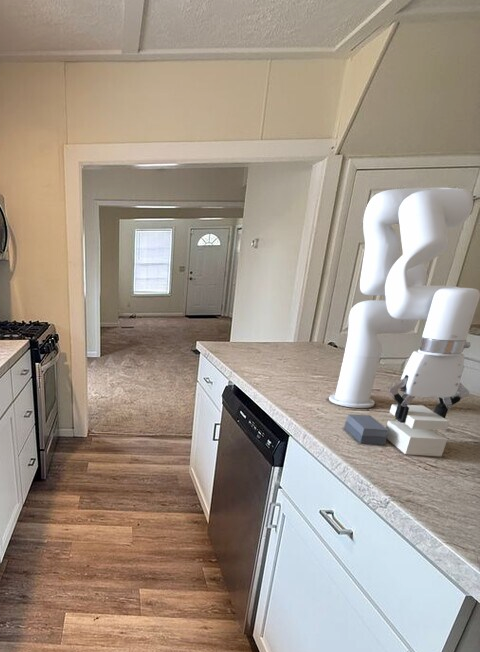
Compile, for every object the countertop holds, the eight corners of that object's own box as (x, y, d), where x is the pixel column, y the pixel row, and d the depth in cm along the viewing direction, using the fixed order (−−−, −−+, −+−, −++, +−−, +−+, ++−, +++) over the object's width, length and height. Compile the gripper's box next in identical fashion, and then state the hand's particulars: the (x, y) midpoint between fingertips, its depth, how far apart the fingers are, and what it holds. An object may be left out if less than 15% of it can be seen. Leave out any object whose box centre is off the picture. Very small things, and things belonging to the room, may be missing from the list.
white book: (389, 412, 102) (391, 404, 101) (420, 413, 100) (423, 405, 100) (411, 428, 92) (414, 419, 91) (446, 430, 90) (449, 421, 90)
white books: (383, 436, 104) (387, 420, 102) (416, 438, 102) (421, 422, 101) (405, 454, 94) (410, 437, 92) (441, 456, 92) (447, 439, 91)
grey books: (344, 427, 110) (347, 413, 108) (366, 428, 109) (369, 415, 107) (360, 443, 100) (363, 428, 98) (384, 444, 99) (388, 429, 97)
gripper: (474, 344, 91) (450, 418, 97) (389, 343, 94) (370, 414, 100) (498, 350, 84) (470, 429, 90) (405, 349, 87) (384, 425, 94)
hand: (418, 421), depth 95 cm, fingers closed on white book, 7 cm apart
